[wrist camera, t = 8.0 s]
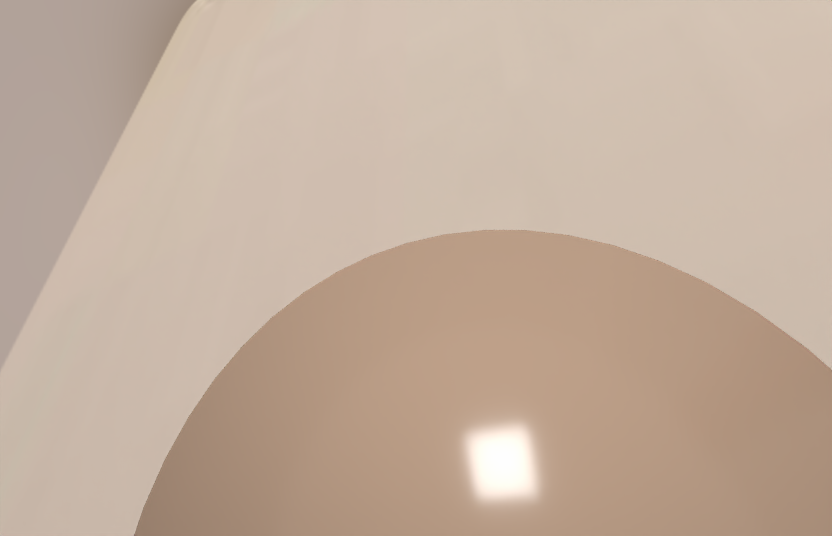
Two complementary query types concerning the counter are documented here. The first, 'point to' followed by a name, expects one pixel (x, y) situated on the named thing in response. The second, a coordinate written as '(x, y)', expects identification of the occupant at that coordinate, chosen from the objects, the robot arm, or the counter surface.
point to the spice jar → (507, 405)
